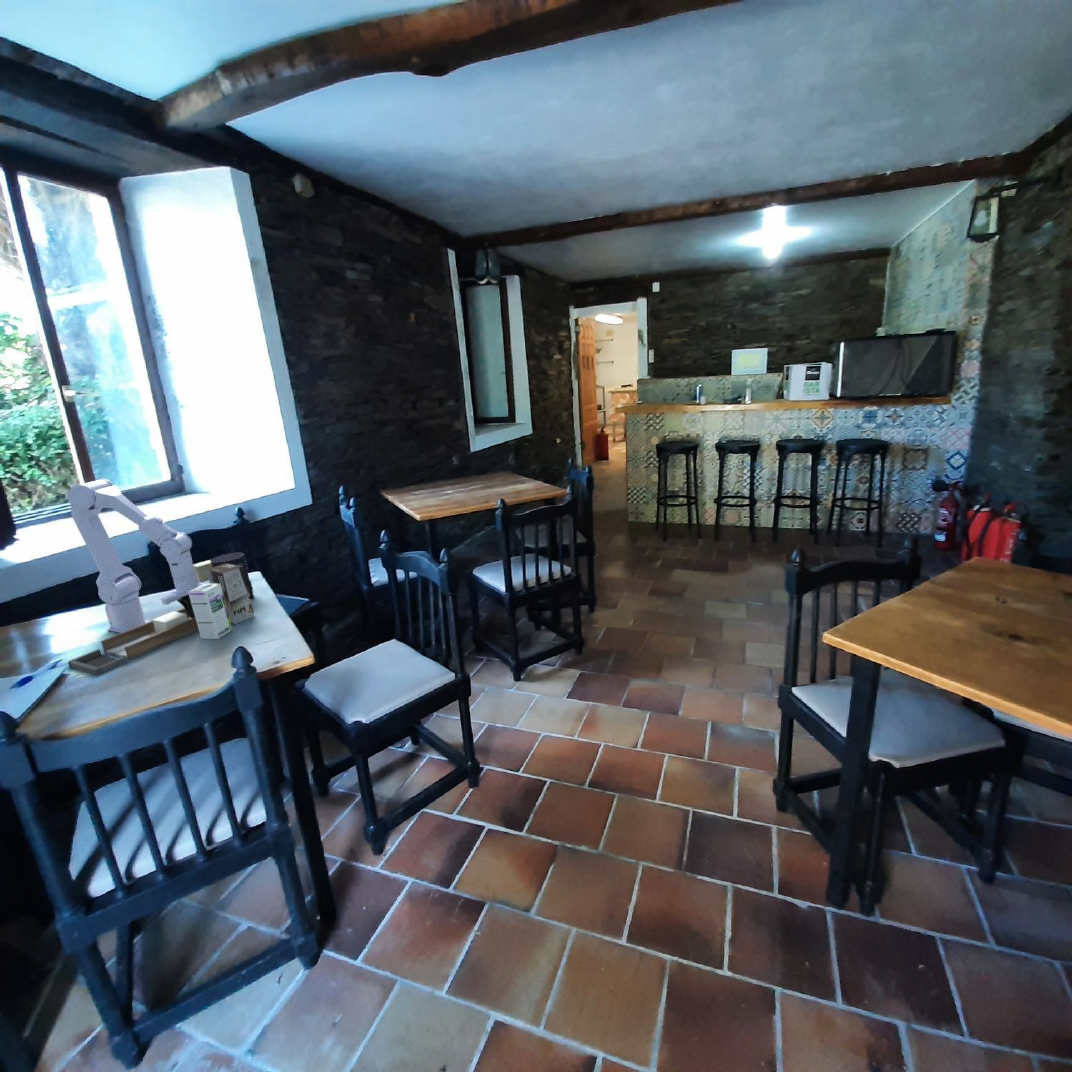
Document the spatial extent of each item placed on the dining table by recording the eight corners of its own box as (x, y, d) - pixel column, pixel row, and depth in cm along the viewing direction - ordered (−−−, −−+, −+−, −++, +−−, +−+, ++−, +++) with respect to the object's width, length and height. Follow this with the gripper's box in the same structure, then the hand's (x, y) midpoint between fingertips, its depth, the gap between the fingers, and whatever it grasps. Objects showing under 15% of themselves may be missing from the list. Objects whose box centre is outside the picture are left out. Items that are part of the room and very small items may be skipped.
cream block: (156, 632, 157) (152, 619, 156) (176, 623, 162) (173, 611, 161) (168, 635, 155) (165, 622, 153) (189, 626, 160) (186, 613, 159)
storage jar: (231, 608, 173) (220, 563, 169) (214, 603, 178) (203, 560, 174) (260, 597, 181) (251, 554, 177) (244, 592, 186) (234, 550, 182)
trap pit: (69, 666, 142) (67, 661, 141) (99, 654, 148) (97, 649, 147) (97, 675, 136) (95, 670, 136) (127, 661, 142) (125, 656, 142)
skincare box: (205, 602, 180) (196, 567, 177) (198, 600, 183) (189, 565, 179) (224, 595, 185) (216, 560, 182) (217, 593, 188) (209, 559, 184)
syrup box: (218, 639, 151) (205, 590, 147) (200, 639, 153) (187, 590, 149) (233, 630, 157) (221, 582, 153) (215, 629, 158) (203, 582, 154)
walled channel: (104, 652, 148) (100, 641, 147) (190, 616, 169) (187, 606, 168) (130, 659, 143) (126, 647, 142) (216, 621, 164) (213, 610, 163)
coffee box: (255, 616, 166) (244, 565, 161) (234, 624, 160) (222, 573, 156) (238, 611, 170) (227, 562, 166) (218, 619, 165) (205, 569, 161)
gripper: (167, 585, 152) (179, 629, 156) (216, 567, 165) (226, 609, 169) (152, 582, 155) (164, 626, 159) (201, 566, 168) (211, 606, 172)
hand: (195, 617), depth 164 cm, fingers closed
